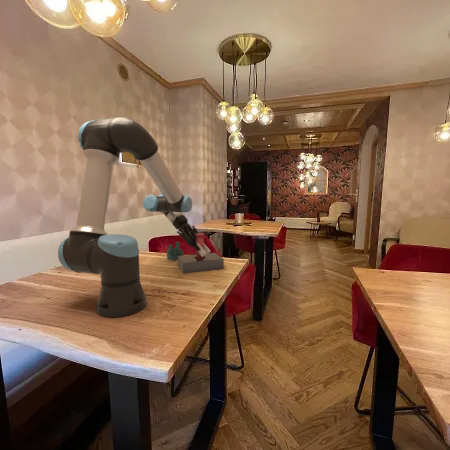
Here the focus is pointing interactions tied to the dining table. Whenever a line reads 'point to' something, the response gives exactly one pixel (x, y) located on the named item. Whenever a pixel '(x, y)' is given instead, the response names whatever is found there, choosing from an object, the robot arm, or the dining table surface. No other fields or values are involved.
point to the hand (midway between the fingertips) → (206, 254)
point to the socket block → (200, 263)
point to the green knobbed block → (174, 252)
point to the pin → (199, 240)
